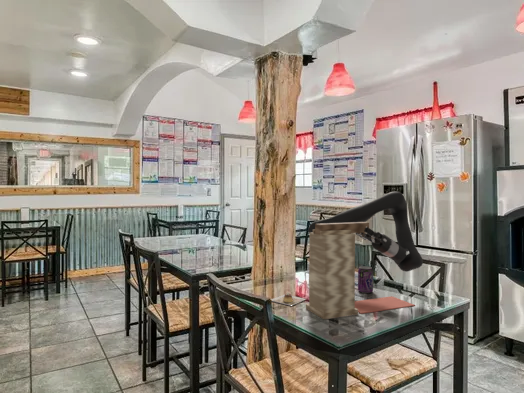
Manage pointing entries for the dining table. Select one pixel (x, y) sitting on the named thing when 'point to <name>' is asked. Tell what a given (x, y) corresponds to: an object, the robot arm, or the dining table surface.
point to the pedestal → (332, 274)
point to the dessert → (287, 298)
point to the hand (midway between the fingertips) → (358, 227)
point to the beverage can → (365, 279)
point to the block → (342, 227)
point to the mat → (380, 304)
